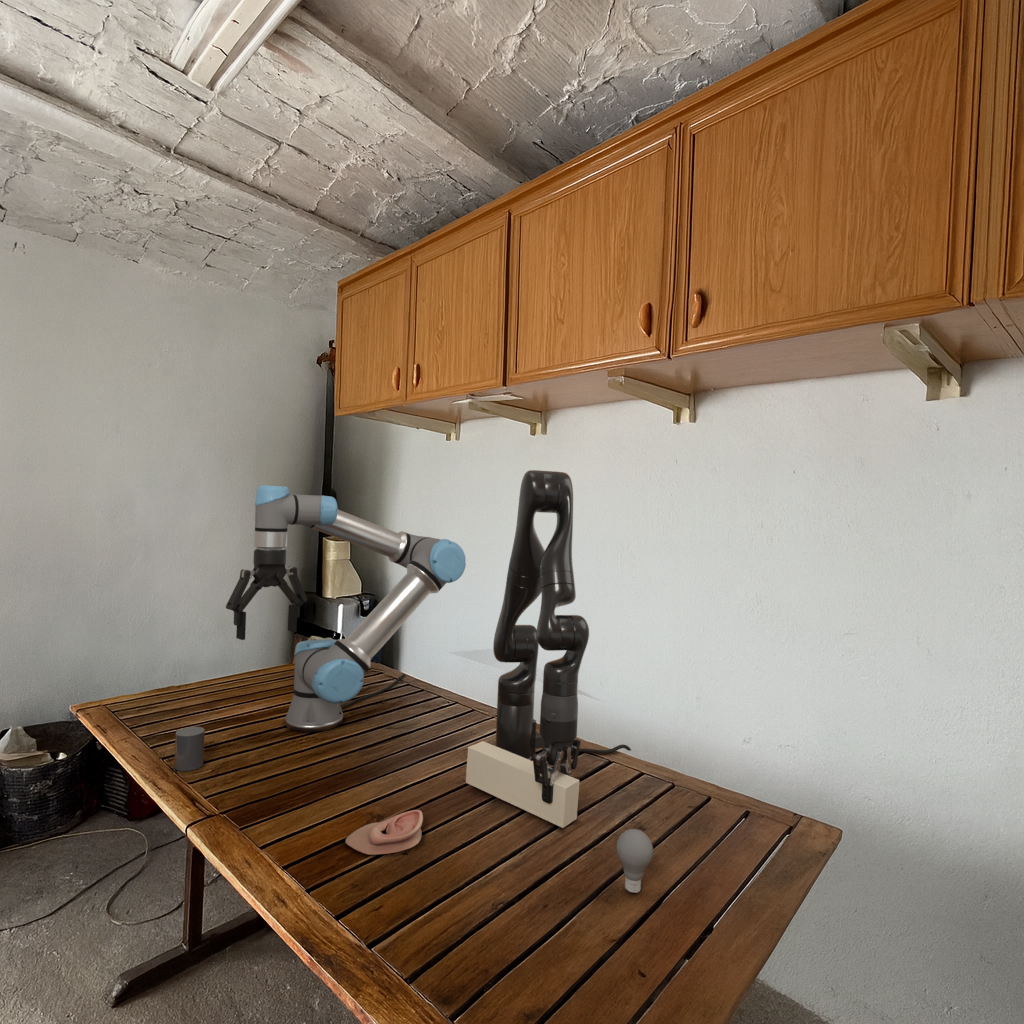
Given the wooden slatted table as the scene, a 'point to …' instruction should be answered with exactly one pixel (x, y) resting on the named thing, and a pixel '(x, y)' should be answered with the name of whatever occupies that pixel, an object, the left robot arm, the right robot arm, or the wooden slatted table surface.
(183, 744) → the dark grey cylinder
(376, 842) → the anatomical model
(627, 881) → the light bulb
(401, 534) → the left robot arm
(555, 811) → the plank
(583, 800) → the wooden slatted table surface
